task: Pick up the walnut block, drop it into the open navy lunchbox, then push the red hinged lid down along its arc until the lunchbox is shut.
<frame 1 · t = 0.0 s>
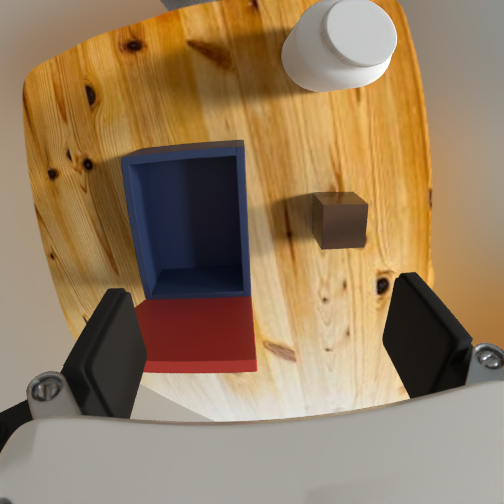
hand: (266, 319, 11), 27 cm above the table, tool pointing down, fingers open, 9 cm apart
pill bottle: (315, 59, 30), on the table
lunchbox: (196, 210, 37), on the table
lunchbox lid: (182, 325, 26), point 15 cm above the table, hinge at 70.0°
block: (332, 212, 38), on the table
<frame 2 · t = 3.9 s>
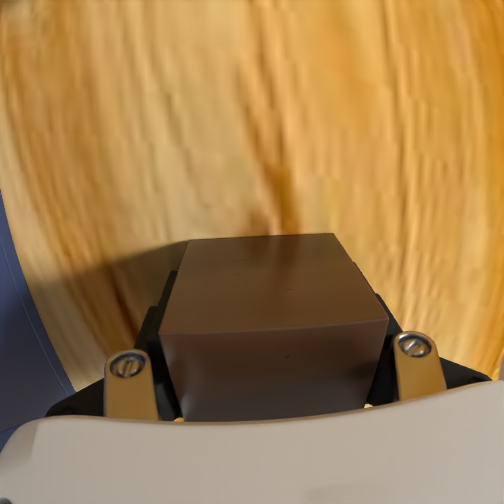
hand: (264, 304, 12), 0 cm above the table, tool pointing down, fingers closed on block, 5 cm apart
block: (263, 298, 12), on the table, touching gripper
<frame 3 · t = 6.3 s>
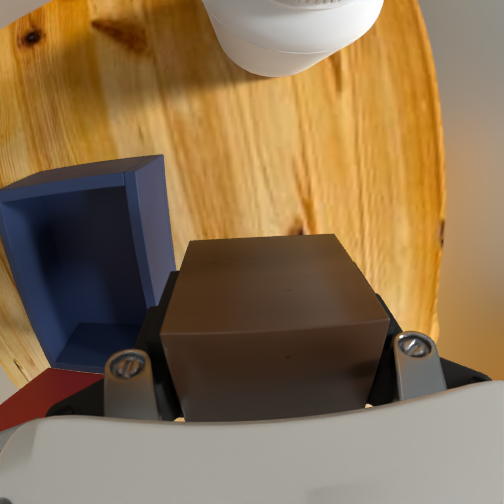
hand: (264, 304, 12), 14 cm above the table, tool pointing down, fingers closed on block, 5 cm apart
pill bottle: (271, 30, 19), on the table
lunchbox: (109, 252, 26), on the table
lunchbox lid: (58, 432, 14), point 15 cm above the table, hinge at 70.0°
block: (264, 298, 12), point 14 cm above the table, touching gripper
when the fingers open (10 cm above the table, at t = 9.0 s): block drops 9 cm, resting on lunchbox.
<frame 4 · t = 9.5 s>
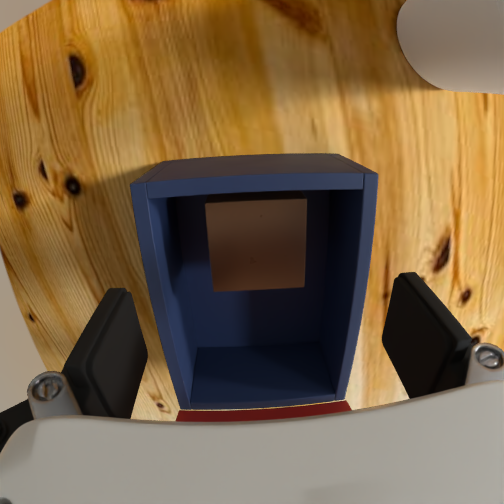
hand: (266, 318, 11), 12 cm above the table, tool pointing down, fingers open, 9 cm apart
pill bottle: (437, 42, 17), on the table
lunchbox: (255, 264, 23), on the table
lunchbox lid: (272, 497, 12), point 15 cm above the table, hinge at 70.0°
block: (253, 216, 21), point 1 cm above the table, touching lunchbox
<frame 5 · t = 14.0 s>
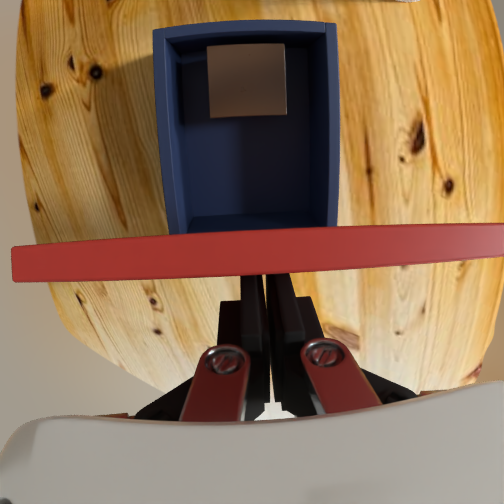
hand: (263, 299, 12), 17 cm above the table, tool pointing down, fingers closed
lunchbox: (247, 130, 25), on the table
lunchbox lid: (259, 253, 14), point 15 cm above the table, hinge at 64.4°, touching gripper
block: (245, 85, 23), point 1 cm above the table, touching lunchbox
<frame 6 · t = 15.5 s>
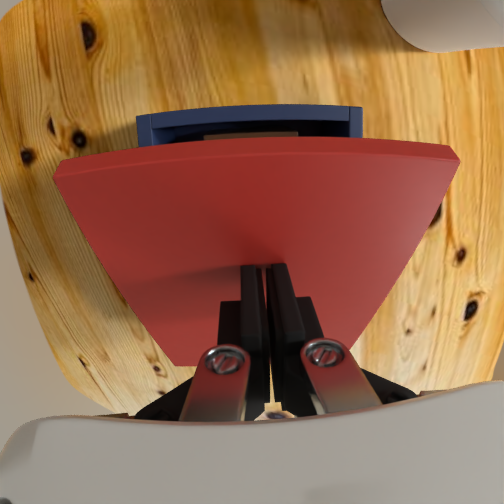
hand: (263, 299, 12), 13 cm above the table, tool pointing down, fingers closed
pill bottle: (419, 10, 17), on the table
lunchbox: (251, 211, 24), on the table
lunchbox lid: (261, 302, 14), point 11 cm above the table, hinge at 27.9°, touching gripper
block: (249, 162, 22), point 1 cm above the table, touching lunchbox
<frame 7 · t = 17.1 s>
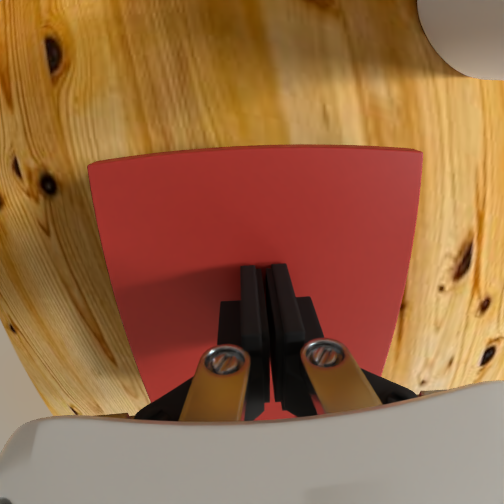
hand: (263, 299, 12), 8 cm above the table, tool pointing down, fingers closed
pill bottle: (460, 24, 13), on the table
lunchbox lid: (264, 346, 14), point 7 cm above the table, hinge at 0.0°, touching gripper
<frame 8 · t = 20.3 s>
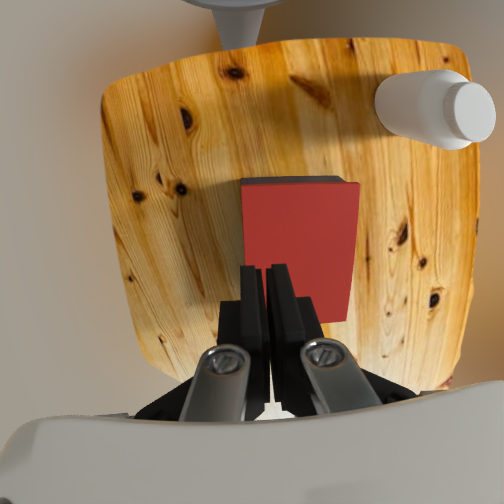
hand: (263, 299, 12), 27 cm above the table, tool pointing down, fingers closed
pill bottle: (400, 105, 34), on the table
lunchbox: (290, 237, 40), on the table
lunchbox lid: (300, 260, 34), point 7 cm above the table, hinge at 0.0°
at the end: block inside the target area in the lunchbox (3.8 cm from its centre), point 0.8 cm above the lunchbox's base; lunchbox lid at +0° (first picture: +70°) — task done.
